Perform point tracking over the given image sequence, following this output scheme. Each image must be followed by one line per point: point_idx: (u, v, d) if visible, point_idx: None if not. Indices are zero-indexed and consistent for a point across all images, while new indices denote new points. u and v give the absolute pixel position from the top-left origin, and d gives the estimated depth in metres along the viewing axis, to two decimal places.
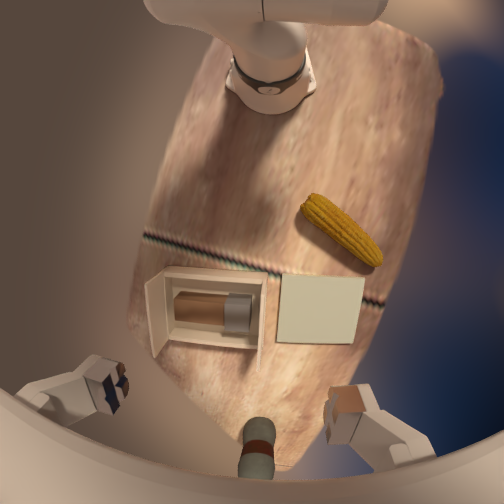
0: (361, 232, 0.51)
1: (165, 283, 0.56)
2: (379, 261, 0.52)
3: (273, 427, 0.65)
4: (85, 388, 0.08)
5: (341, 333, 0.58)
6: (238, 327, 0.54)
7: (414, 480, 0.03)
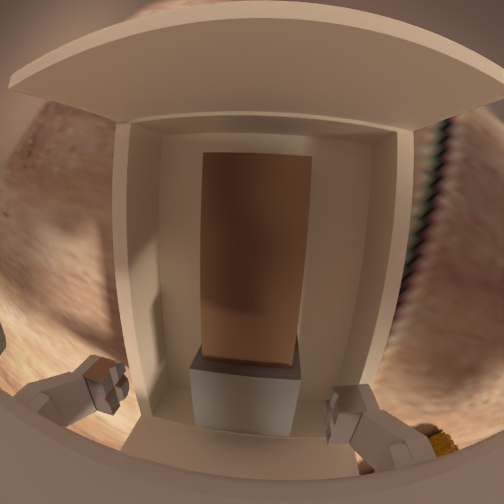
0: None
1: (367, 128, 0.12)
2: None
3: None
4: (85, 388, 0.08)
5: None
6: (207, 406, 0.14)
7: (414, 480, 0.03)
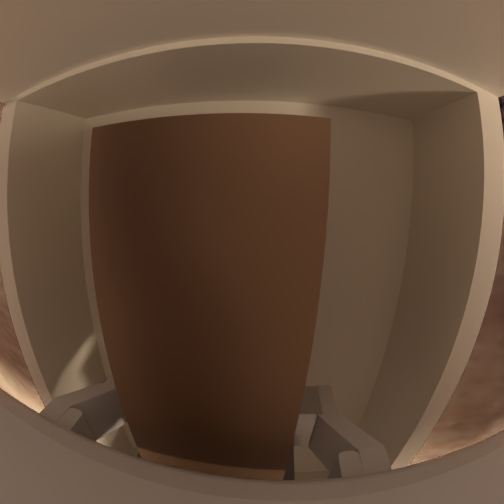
0: None
1: (428, 79, 0.05)
2: None
3: None
4: (118, 399, 0.08)
5: None
6: None
7: (414, 480, 0.03)
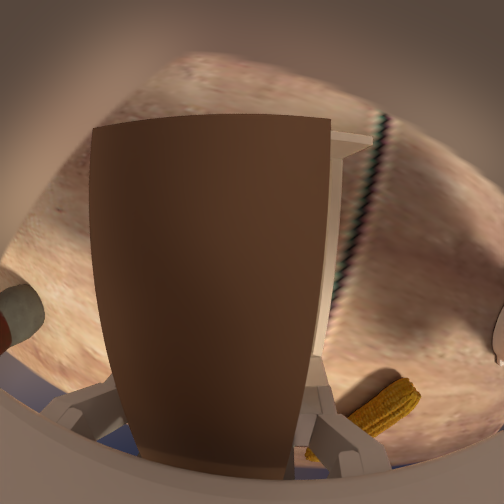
0: None
1: None
2: (314, 460, 0.33)
3: None
4: (118, 399, 0.08)
5: None
6: None
7: (414, 480, 0.03)
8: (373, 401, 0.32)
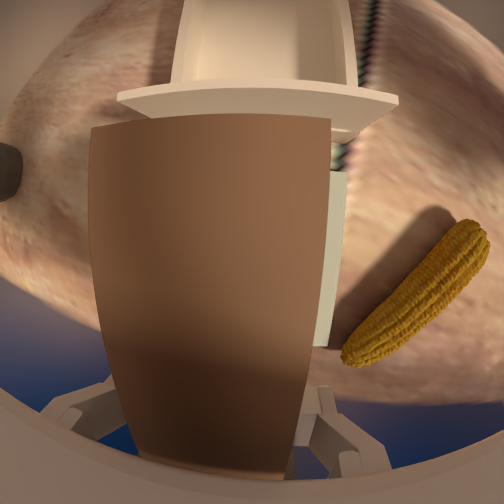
0: (419, 329, 0.23)
1: None
2: (357, 363, 0.25)
3: (4, 196, 0.26)
4: (118, 399, 0.08)
5: None
6: None
7: (414, 480, 0.03)
8: (433, 250, 0.24)
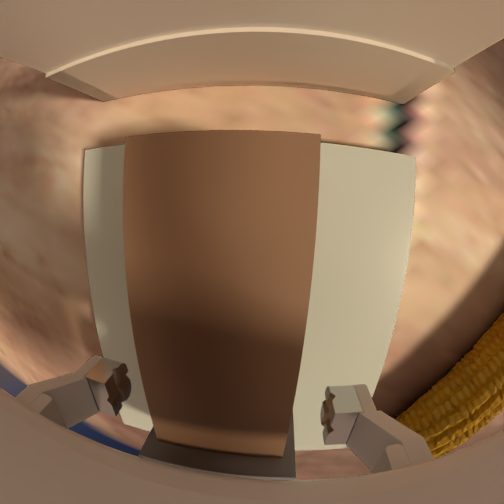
0: None
1: None
2: None
3: None
4: (87, 389, 0.08)
5: None
6: None
7: (414, 480, 0.03)
8: None
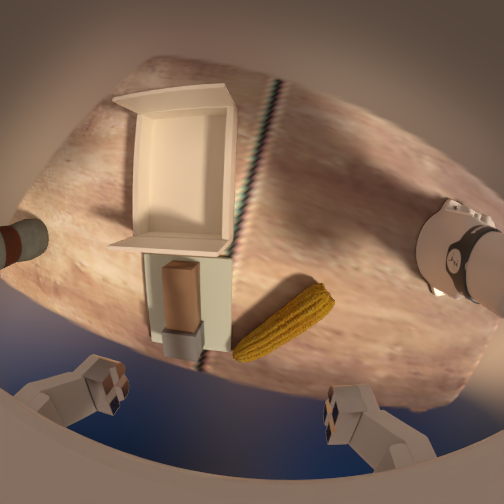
0: (278, 346, 0.45)
1: (217, 108, 0.37)
2: (239, 359, 0.47)
3: (38, 255, 0.48)
4: (85, 388, 0.08)
5: (162, 329, 0.50)
6: (167, 346, 0.44)
7: (414, 480, 0.03)
8: (291, 301, 0.46)
